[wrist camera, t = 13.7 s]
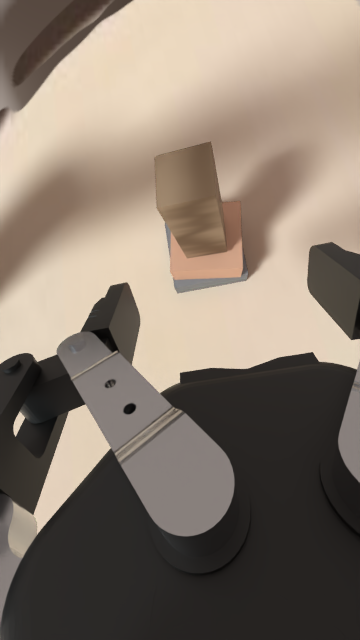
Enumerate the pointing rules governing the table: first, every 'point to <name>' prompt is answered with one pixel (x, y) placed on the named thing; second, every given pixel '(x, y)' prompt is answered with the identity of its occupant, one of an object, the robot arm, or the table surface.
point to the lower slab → (204, 283)
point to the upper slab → (213, 264)
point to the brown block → (191, 199)
